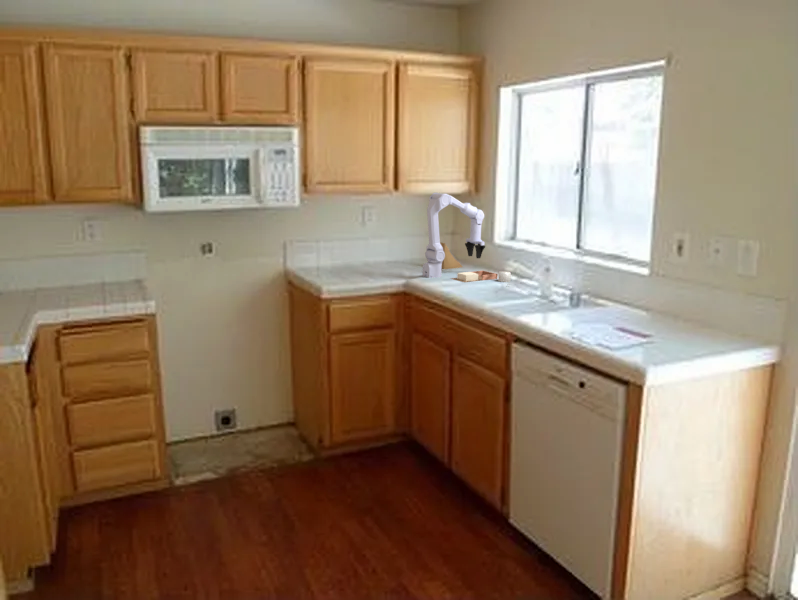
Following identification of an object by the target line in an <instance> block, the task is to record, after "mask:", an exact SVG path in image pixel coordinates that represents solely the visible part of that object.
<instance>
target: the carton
mask: <svg viewBox="0 0 798 600" xmlns="http://www.w3.org/2000/svg"><path fill="white" fill-rule="evenodd" d="M472 272H473V271H465V272H457V274H456V276H457V277H456V278H457V279H460V280H464V281H472V280H478V274H476V273H472Z"/></svg>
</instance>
